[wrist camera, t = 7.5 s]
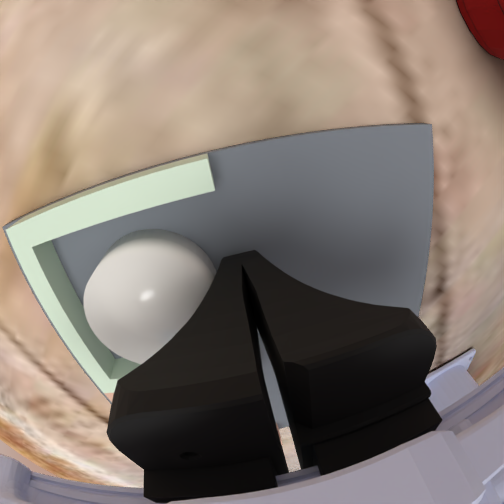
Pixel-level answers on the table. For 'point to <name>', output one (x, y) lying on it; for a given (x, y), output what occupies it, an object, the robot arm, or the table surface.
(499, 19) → the plastic cup
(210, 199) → the mat
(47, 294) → the mint green c bracket
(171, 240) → the white dome
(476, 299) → the table surface
